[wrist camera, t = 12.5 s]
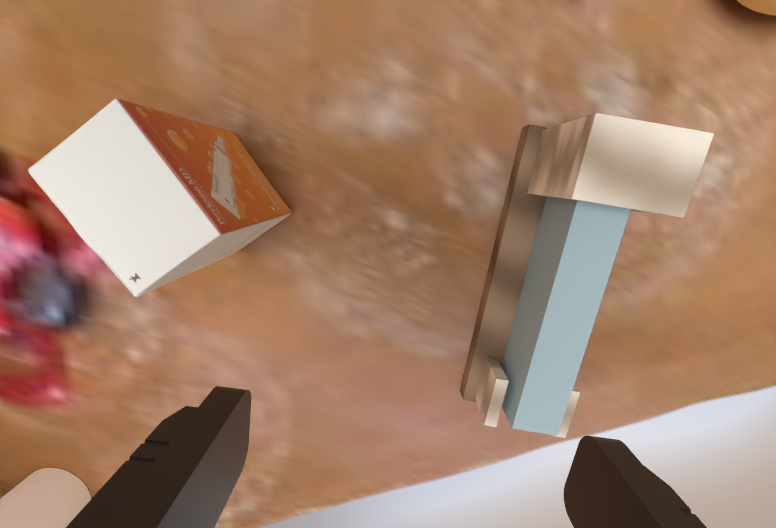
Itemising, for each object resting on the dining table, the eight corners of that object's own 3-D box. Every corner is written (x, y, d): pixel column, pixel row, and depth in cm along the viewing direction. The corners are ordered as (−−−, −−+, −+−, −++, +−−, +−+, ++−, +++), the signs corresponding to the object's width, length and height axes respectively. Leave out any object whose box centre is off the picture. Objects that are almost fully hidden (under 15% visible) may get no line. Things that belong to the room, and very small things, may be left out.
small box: (294, 212, 31) (224, 237, 18) (237, 252, 32) (133, 302, 19) (234, 129, 29) (112, 93, 17) (177, 174, 30) (20, 171, 18)
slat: (554, 166, 28) (587, 164, 23) (599, 174, 28) (642, 173, 23) (494, 391, 33) (512, 428, 28) (533, 397, 33) (557, 435, 28)
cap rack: (522, 127, 29) (577, 105, 20) (632, 146, 29) (734, 133, 20) (460, 390, 34) (481, 462, 26) (552, 404, 35) (605, 482, 26)
